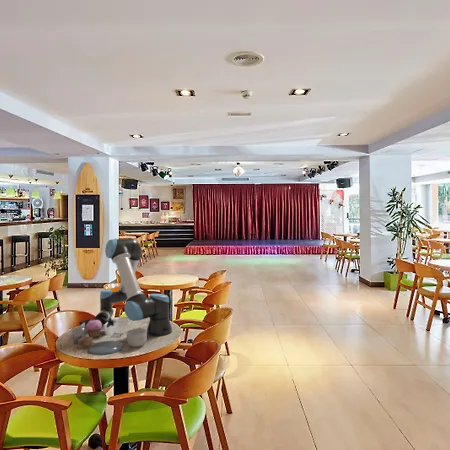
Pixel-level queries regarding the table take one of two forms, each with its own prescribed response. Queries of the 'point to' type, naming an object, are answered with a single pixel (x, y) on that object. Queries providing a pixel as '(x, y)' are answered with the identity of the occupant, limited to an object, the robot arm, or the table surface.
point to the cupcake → (94, 328)
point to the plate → (105, 347)
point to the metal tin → (78, 334)
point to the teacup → (136, 337)
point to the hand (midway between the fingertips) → (92, 327)
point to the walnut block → (85, 342)
